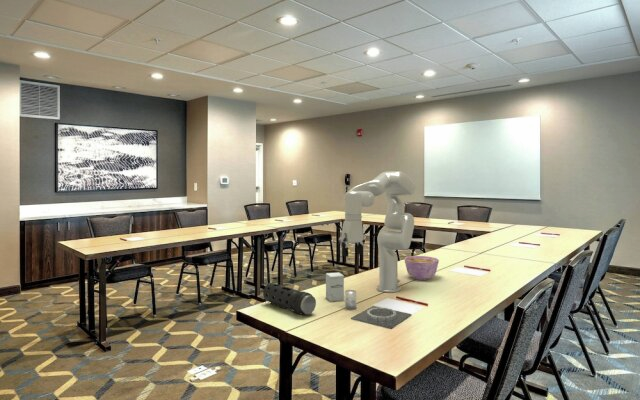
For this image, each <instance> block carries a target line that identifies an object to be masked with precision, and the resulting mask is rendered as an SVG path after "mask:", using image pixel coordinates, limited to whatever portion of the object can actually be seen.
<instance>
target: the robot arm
mask: <svg viewBox="0 0 640 400" xmlns="http://www.w3.org/2000/svg"><path fill="white" fill-rule="evenodd" d="M415 190H416V185H415V182H414V181H413V180H412V179H411V178H410V177H409V176H408V175H407V174H406V173H405V172H403V171H399V170H398V171H397V170H395V171H383V172H381V173H380V174H378V175H377V176H375V178H373V179H372V180H370V181H366V182H364V183H362V184H358V185H356V186H354V187H351V189H349V190H348V191H347V192H346V193H345V197H344V201H345V202H344V205H345V206H344V209H345V210H344V221H343V224H342V228H341V236H339V238H338V242H339V244H340V246H341V249H342V256H343V257H345V258H347V257H349V245H350V244H357V245H356V254H357V255H363V254H364V251H363V250H364V249H363V248H364V245H365V243H366V239H367V236H366V234H364V230H363V229H364V228H363V221H362V217H363V216H362V208H369V207H372V206H373V205H374V203H375V200H376V197H380V196H381V195H382V194H384V193H385V196H386V200H387V208H386V213H385V218H384V221H383V224H384V227H385V228H386V229H388V230H383V231H380V232H379V233H378V235H377V241H376V242H377V245H378V253H379V255H378V256H379V258H378V259H379V261H378V262H379V264H378V265H379V285H377V286H376V290H377V291H378V292H381V293H387V294H388V293H390V294H391V293H398V292H400V291H401V287H400V286H399V283H400V282H401V279H399V278H398V255H397V253H396V251H406V250H409V249H410V246H411V243H412V238H413V233H414V229H415V218H414V216H413V215H412V214H411V213H409V212H404V209H405V205H404V202H403V200H402V198H400V196H412V195H413V194H414V193H415Z"/></svg>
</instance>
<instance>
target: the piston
mask: <svg viewBox="0 0 640 400" xmlns="http://www.w3.org/2000/svg"><path fill="white" fill-rule="evenodd" d="M344 302H345V304H344V305H345V310H347V311H355V310H357V291H356V290H354V289H347V290H344Z"/></svg>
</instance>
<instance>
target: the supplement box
mask: <svg viewBox="0 0 640 400" xmlns="http://www.w3.org/2000/svg"><path fill="white" fill-rule="evenodd" d="M344 279H345V275H344V274H342V273H341V272H326V273H325V298H326V299H327V301H329V302H330V303H331V302H340V301H345V286H344V283H345V280H344Z"/></svg>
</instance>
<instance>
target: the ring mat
mask: <svg viewBox="0 0 640 400" xmlns="http://www.w3.org/2000/svg"><path fill="white" fill-rule="evenodd" d="M411 316H412V313H408V312H404V311H399V310H394V309H392V308H388V307H380V306H375V305H372V306H370V307H368V308H366V309H365V310H363V311H360V312H358V313H357V314H355V315H353V316H351V317H350V319H351V320H353V321H357V322H362V323H364V324H369V325H374V326H377V327H382V328H386V329H390V330H392V329H394V328H395V327H397V326H398V325H399V324H401V323H403V322H404V321H405V320H407V319H409V318H410V317H411Z"/></svg>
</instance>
